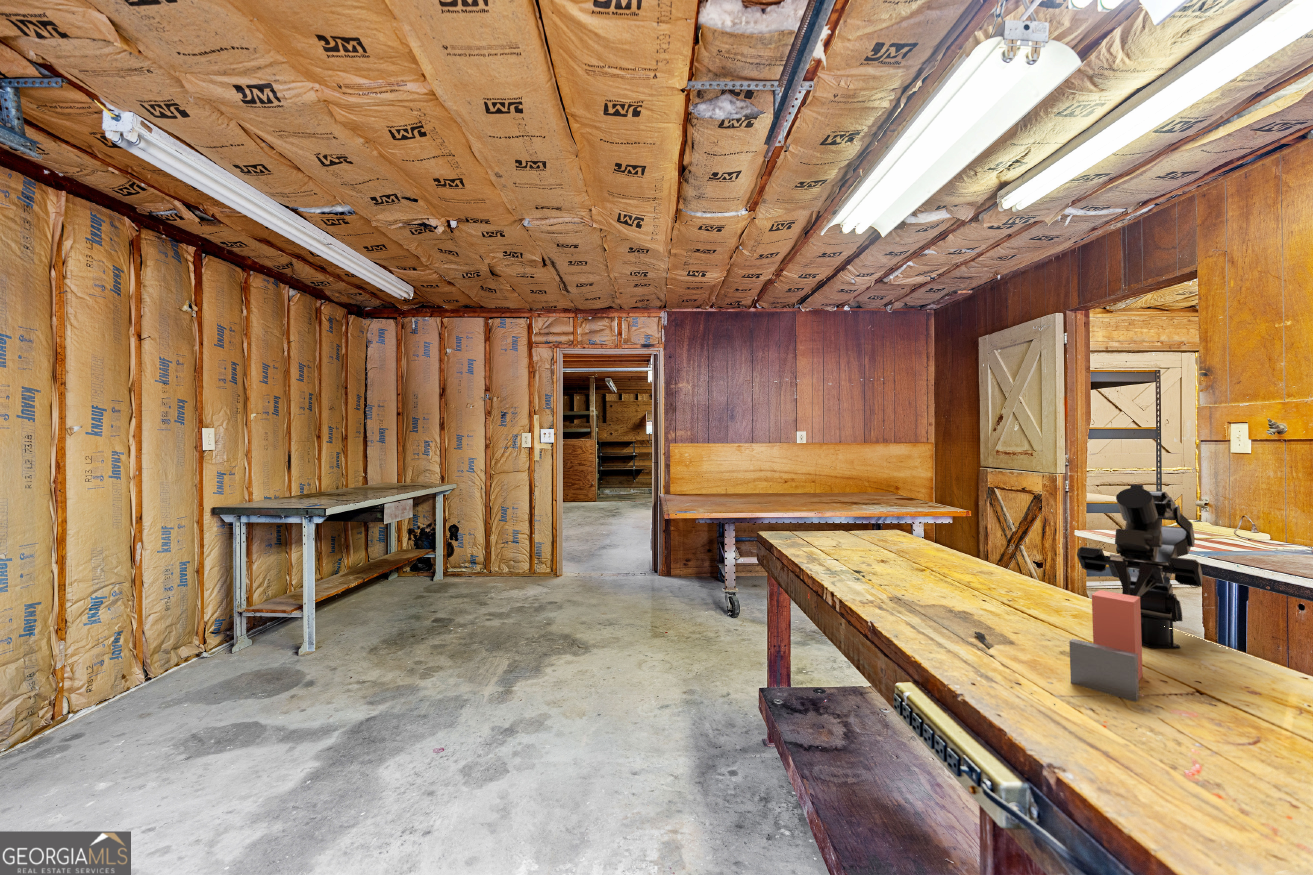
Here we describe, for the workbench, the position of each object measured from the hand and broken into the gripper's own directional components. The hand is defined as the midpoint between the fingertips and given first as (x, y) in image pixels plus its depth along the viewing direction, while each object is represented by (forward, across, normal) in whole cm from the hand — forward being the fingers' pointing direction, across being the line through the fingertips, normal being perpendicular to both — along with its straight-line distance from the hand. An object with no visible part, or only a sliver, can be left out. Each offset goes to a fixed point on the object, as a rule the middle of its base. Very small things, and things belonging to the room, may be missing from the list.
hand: (1130, 598), depth 104 cm
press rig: (+20, 0, -1) cm, 20 cm away
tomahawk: (+19, -19, +1) cm, 27 cm away
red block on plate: (+16, 0, +1) cm, 16 cm away
